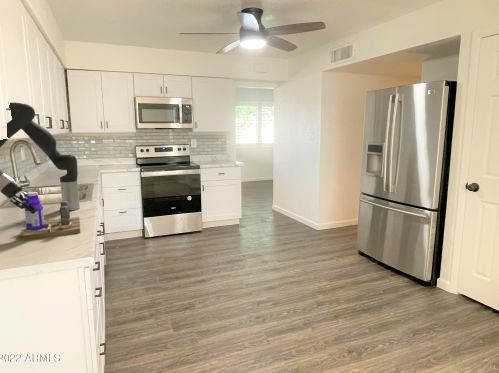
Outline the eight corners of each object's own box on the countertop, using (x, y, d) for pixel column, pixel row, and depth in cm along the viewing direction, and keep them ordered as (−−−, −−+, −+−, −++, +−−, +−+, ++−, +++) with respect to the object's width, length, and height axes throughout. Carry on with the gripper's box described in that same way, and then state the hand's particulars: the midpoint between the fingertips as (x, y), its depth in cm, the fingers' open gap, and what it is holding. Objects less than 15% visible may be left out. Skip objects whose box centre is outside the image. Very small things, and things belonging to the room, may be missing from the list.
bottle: (47, 227, 161) (43, 191, 158) (40, 230, 155) (36, 193, 152) (31, 227, 160) (27, 191, 157) (24, 230, 155) (19, 193, 152)
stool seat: (26, 226, 171) (24, 203, 169) (79, 220, 182) (77, 198, 180) (20, 240, 150) (17, 214, 148) (80, 232, 161) (78, 208, 159)
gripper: (3, 182, 146) (36, 208, 149) (21, 177, 160) (50, 201, 163) (-8, 194, 146) (24, 220, 150) (10, 188, 160) (40, 212, 164)
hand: (38, 210), depth 156 cm, fingers closed on bottle, 5 cm apart
